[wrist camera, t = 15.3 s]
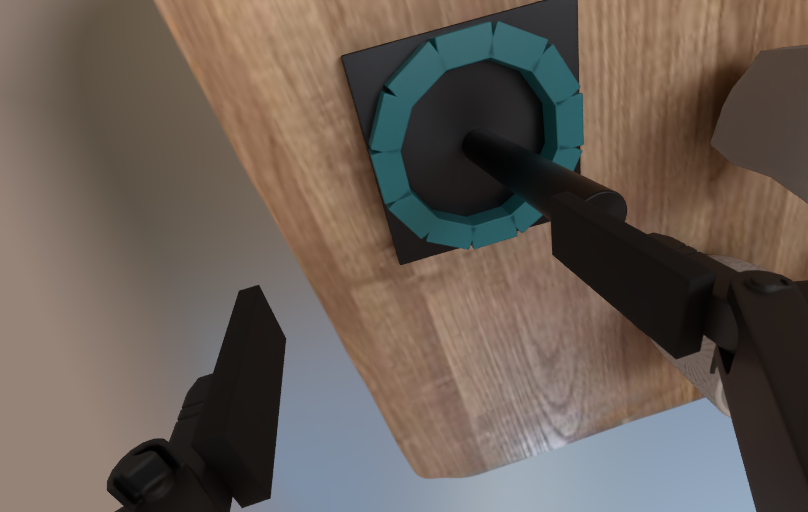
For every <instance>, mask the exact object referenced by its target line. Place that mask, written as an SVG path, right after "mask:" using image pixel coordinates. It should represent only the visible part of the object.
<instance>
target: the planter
mask: <svg viewBox="0 0 808 512" xmlns="http://www.w3.org/2000/svg"><path fill="white" fill-rule="evenodd" d="M707 256H709V257H711V258H713V259H715V260H717V261H719V262H721V263H723V264H725V265H726V266H728V267H730V268H732V269H734V270H736V271H738V272H742V271H747V270H761V271H769V270H767V269H764V268H762V267H760V266H757V265H754V264H752V263H749V262H746V261H743V260H740V259H737V258H733V257H729V256H723V255H707ZM769 272H772V271H769ZM773 273H774V272H773ZM793 282H794V281H793ZM649 338H650V337H649ZM650 339H651V338H650ZM651 341H652V342H653V344H654V345H655V346H656V347H657V348H658V350H659V351H660V352H661V353H662V354H663V355H664V356H665V357H666V358H667V359H668V360H669V361H670V363H671V364H672V365H673V366H674V367H675V368H676V369H677V370H678V371H679V372H680V373H682V374H683V375H684V376H685V377H686V378H687V379H688V380H689V381H690V382H691V383H692V384H693V385H694V386H695V387H696V388H697V389H698V390H699V391H700V392H701V393H702V394H703V395H704V396H705V397H706V398H707V399H708V400H709V401H710V402H711V403H713V404H714V405H715V406H716V407H717V408H718V409H719V410H720V411H721V412H722V413H723V414H725V415H726V416H728V417H730V418H731V415H730V412H729V408H728V404H727V400H726V397H725V393H724V389H723V385H722V382H721V378H720V374H719V371H718V367H717V368H716V370H715V374H710V366H711V362H712V358H713V353H714V349H715V345H716V344H715V343H714V342H713V341H711V340H710V339H708V338H707V337H706V336H703V341H702V345H701V350H700V352H697V353H694V354H691V355H688V356H686V357H683V358H680V359H677V360H676V359H675V358H673V357H672V356H671V355H670V354H669V353H667V352H666V351H665V350H664V349H663V348H662V347H660V346H659V345H658V344H657V343H656V342H655V341H653V340H652V339H651Z"/></svg>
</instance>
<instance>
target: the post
mask: <svg viewBox="0 0 808 512" xmlns="http://www.w3.org/2000/svg"><path fill="white" fill-rule="evenodd" d="M488 21H491V23H492V22H497V21H500V22H502V23H505V24H508V25H510V26H513V27H516V28H518V29H521V30H524V31H527V32H529V33H532V34H535V35H537V36H540V37H543V38H545V39H548V42H547V44H553V45H554V46H555V48H556V49H557V51H558V52H559V54H560V56H561V57H562V59H563V60H564V62H565V63H566V65H567V66H568V68H569V70H570V71H571V73H572V74H573V76H574V77H575V79H576V80H577V82H578V84H579V54H578V0H542V1H539V2H535V3H531V4H528V5H524V6H521V7H517V8H513V9H510V10H506V11H502V12H499V13H495V14H491V15H488V16H484V17H480V18H477V19H473V20H469V21H466V22H462V23H458V24H455V25H451V26H447V27H444V28H440V29H436V30H433V31H429V32H425V33H422V34H418V35H415V36H411V37H407V38H404V39H400V40H396V41H393V42H389V43H385V44H382V45H378V46H374V47H371V48H367V49H363V50H360V51H356V52H352V53H349V54H345V55H342V56H341V60H342V63H343V67H344V70H345V74H346V77H347V81H348V85H349V88H350V92H351V95H352V99H353V102H354V106H355V109H356V113H357V116H358V120H359V123H360V127H361V130H362V134H363V137H364V141H365V145H366V148H367V152H368V155H369V159H370V162H371V166H372V169H373V173H374V176H375V180H376V183H377V187H378V190H379V194H380V197H381V201H382V205H383V208H384V212H385V215H386V219H387V222H388V226H389V229H390V233H391V236H392V240H393V243H394V247H395V250H396V254H397V257H398V260H399V264H400V265H403V264H406V263H410V262H413V261H417V260H420V259H423V258H427V257H430V256H434V255H437V254H441V253H444V252H447V251H451V250H454V249H458V247H453V246H448V245H442V244H437V243H432V242H427V241H426V240H425V238H424V237H423V238H422V239H421V238H420V237H418V236H417V235H416V234H415V233H414V232H413V231H412V230H411V229H410V228H408V227H407V226H406V225H405V224H404V223H403V222H402V221H401V220H400V219H399V218H397V217H396V216H395V215H394V214H393V213H392V212H391V211H390V210H389V209H388V207H387V204H385V203H384V200H383V197H382V194H381V191H380V187H379V184H378V181H377V177H376V174H375V170H374V167H373V164H372V160H371V157H370V153H369V149H371V148H370V145H369V138H370V134H371V130H372V125H373V121H374V117H375V113H376V108H377V104H378V100H379V95H380V92H381V91H385V92H388V93H391V92H390V91H389V90H388V89H387V88H386V87H385V86H384V84H385V83H386V81H387V80H388V79H389V78H390V77H391V76H392V75H393V74H394V73H395V71H396V70H397V69H398V68H399V67H400V66H401V65H402V64H403V63H404V62H405V60H406V59H407V58H408V57H409V56H410V55H411V54H412V53H413V52H414V50H415V49H416V48H417V47H418V46H419V45H420V44H421V43H422V42H427V41H428V39H429V38H431V37H434V36H438V35H441V34H444V33H448V32H451V31H455V30H458V29H462V28H465V27H469V26H472V25H476V24H479V23H483V22H488ZM576 92H577V93H579V89H578V90H577V91H576ZM391 94H392V93H391ZM544 144H545V136H544V122H543V108H542V102H541V101H540V99H539V98H538V96H537V95H536V94H535V92H534V91H533V89H532V88H531V87H530V85H529V84H528V82H527V81H526V80H525V78H524V77H523V75H522V74H521V73H520V71H518V70H515V69H512V68H509V67H506V66H503V65H500V64H497V63H494V62H491V61H488V60H482V61H479V62H475V63H472V64H468V65H465V66H461V67H458V68H455V69H451V70H448V71H446V72H445V73H444V74H443V75H442V76H441V77H440V78H439V79H438V80H437V81H436V82H435V83H434V84H433V85H432V86H431V88H430V89H429V90H428V91H427V92H426V93H425V94H424V95H423V96H422V97H421V98H420V99H419V100H418V101H417V102H416V103H415V105H414V106H413V107H412V110H411V114H410V118H409V122H408V125H407V129H406V133H405V136H404V140H403V144H402V148H401V151H400V152H401V155H402V159H403V163H404V167H405V171H406V175H407V179H408V183H409V187H410V188H411V189H412V190H413V191H414V192H415V193H416V194H417V195H418V196H419V197H420V198H421V199H422V200H423V201H424V202H425V203H426V204H427V205H428V206H429V207H430V208H431V209H432V210H437V211H442V212H446V213H451V214H456V215H460V216H465V217H467V216H471V215H474V214H477V213H481V212H484V211H487V210H490V209H494V208H497V207H500V206H502V205H503V204H504V203H505V202H506V201H507V200H508V199H509V198H511V197H512V196H513V195H514V194H516V195H517V196H518V197H520V198H521V199H522V200H524V201H525V202H526V203H528V204H529V205H530V206H532V207H533V208H534V209H536V210H537V211H538V212H540V213H541V214H542V216H541V217H540V218H539V219H538V220H537V221H536V222H534V223H533V224H532V225H531V226H530V227H532V226H536V225H539V224H543V223H546V222H550V221H551V212H550V196H553V195H556V194H559V193H562V192H566V191H569V192H571V193H572V194H574V195H576V196H578V197H580V198H581V199H583V200H585V201H587V202H589V203H591V204H592V205H594V206H596V207H598V208H600V209H602V210H603V211H605V212H607V213H609V214H611V215H613V216H614V217H616V218H618V219H620V220H622V221H624V222H625V219H626V215H627V205H626V202H625V200H624V198H623V197H622V196H621V195H620V194H619V193H617V192H615V191H613V190H611V189H609V188H607V187H605V186H603V185H601V184H599V183H597V182H595V181H592V180H590V179H588V178H586V177H584V176H582V175H581V169H580V158H579V160H578V162H577V164H576V166H575V169H574V171H571V170H569V169H567V168H565V167H563V166H561V165H559V164H557V163H555V162H553V161H551V160H548V159H546V158H544V157H542V156H540V153H541V151H542V149H543V146H544ZM575 148H578V149H580V146H577V147H575ZM516 230H517V231H519V230H518V229H517V228H516Z"/></svg>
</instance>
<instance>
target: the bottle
mask: <svg viewBox="0 0 808 512" xmlns="http://www.w3.org/2000/svg"><path fill="white" fill-rule="evenodd" d="M710 145H711V146H712V147H714V148H715V149H716V150H717V151H718V152H719V153H720V154H721V155H722V156H724V157H725V158H726V159H727V160H728V161H729V162H731V163H732V164H734V165H737V166H740V167H743V168H746V169H749V170H752V171H755V172H758V173H760V174H763V175H766V176H769V177H771V178H773V179H774V180H775V181H777V182H778V183H780V184H781V185H782V186H784V187H785V188H787V189H788V190H789V191H791V192H792V193H794V194H795V195H796V196H798V197H799V198H801V199H802V200H803V201H805V202H806V203H808V45H800V46H791V47H782V48H776V49H770V50H765V51H760V53H759V54H758V56H757V57H756V58H755V60H754V61H753V62H752V64H751V65H750V67H749V68H748V69H747V71H746V72H745V73H744V74H743V76H742V77H741V78H740V79H739V81H738V82H737V83H736V84H735V85H734V87H733V88H732V90H731V92H730V94H729V95H728V97H727V99H726V101H725V103H724V105H723V107H722V110H721V114H720V117H719V119H718V120H717V123H716V127H715V130H714V134H713V137H712V140H711V144H710Z"/></svg>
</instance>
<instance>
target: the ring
mask: <svg viewBox="0 0 808 512" xmlns="http://www.w3.org/2000/svg"><path fill="white" fill-rule="evenodd" d="M547 42H548V39H545V38H543V37H540V36H537V35H535V34H532V33H529V32H527V31H524V30H521V29H518V28H516V27H513V26H510V25H508V24H505V23H502V22H500V21H497V22H492V23H491V21H488V22H483V23H479V24H476V25H472V26H469V27H465V28H462V29H458V30H455V31H451V32H448V33H444V34H441V35H438V36H434V37H431V38H429V39H428V41H427V42H422V43H421V44H420V45H419V46H418V47H417V48H416V49H415V50H414V52H413V53H412V54H411V55H410V56H409V57H408V58H407V59H406V60H405V62H404V63H403V64H402V65H401V66H400V67H399V68H398V69H397V70H396V71H395V73H394V74H393V75H392V76H391V77H390V78H389V79H388V80H387V81H386V83H385V84H384V86H385V87H386V88H387V89H388V90H389V91H390V92H391V93H392V94H391V93H388V92H385V91H381V92H380V95H379V100H378V104H377V108H376V113H375V117H374V121H373V125H372V130H371V134H370V138H369V145H370V148H371V149H369V153H370V157H371V160H372V164H373V167H374V170H375V174H376V177H377V181H378V184H379V187H380V191H381V194H382V197H383V200H384V203H385V204H387V207H388V209H389V210H390V211H391V212H392V213H393V214H394V215H395V216H396V217H397V218H399V219H400V220H401V221H402V222H403V223H404V224H405V225H406V226H407V227H408V228H410V229H411V230H412V231H413V232H414V233H415V234H416V235H417V236H418V237H420V238H421V239H422V238H423V237H424V238H425V240H426V241H427V242H432V243H437V244H442V245H448V246H453V247H458V248H463V249H469V248H470V245H471V246H472V247H473V248H474V249H477V248H480V247H483V246H487V245H490V244H493V243H496V242H500V241H503V240H506V239H510V238H513V237H516V236H517V230H516V228H517V229H518V230H519V231H520V232H521V233H523V232H524V231H525V230H527V229H528V228H529V227H530V226H531V225H532V224H533V223H534V222H536V221H537V220H538V219H539V218H540V217H541V216H542V214H541V213H540V212H538V211H537V210H536V209H534V208H533V207H532V206H530V205H529V204H528V203H526V202H525V201H524V200H522V199H521V198H520V197H518V196H517V195H516V194H514V195H513V196H512V197H511V198H509V199H508V200H507V201H506V202H505V203H504V204H503V205H502V206H500V207H497V208H494V209H490V210H487V211H484V212H481V213H477V214H474V215H471V216H467V217H465V216H460V215H456V214H451V213H446V212H442V211H437V210H432V209H431V208H430V207H429V206H428V205H427V204H426V203H425V202H424V201H423V200H422V199H421V198H420V197H419V196H418V195H417V194H416V193H415V192H414V191H413V190H412V189H411V188H410V187H409V183H408V179H407V175H406V171H405V167H404V163H403V159H402V155H401V152H400V151H401V148H402V144H403V140H404V136H405V133H406V129H407V125H408V122H409V118H410V114H411V110H412V107H413V106H414V105H415V103H416V102H417V101H418V100H419V99H420V98H421V97H422V96H423V95H424V94H425V93H426V92H427V91H428V90H429V89H430V88H431V86H432V85H433V84H434V83H435V82H436V81H437V80H438V79H439V78H440V77H441V76H442V75H443V74H444V73H445V72H446V71H448V70H451V69H455V68H458V67H461V66H465V65H468V64H472V63H475V62H479V61H482V60H488V61H491V62H494V63H497V64H500V65H503V66H506V67H509V68H512V69H515V70H518V71H520V73H521V74H522V75H523V77H524V78H525V80H526V81H527V82H528V84H529V85H530V87H531V88H532V89H533V91H534V92H535V94H536V95H537V96H538V98H539V99H540V101H541V102H542V108H543V122H544V136H545V144H544V146H543V149H542V151H541V153H540V156H542V157H544V158H546V159H548V160H551V161H553V162H555V163H557V164H559V165H561V166H563V167H565V168H567V169H569V170H571V171H574V169H575V166H576V164H577V162H578V160H579V158H580V155H581V153H582V150H580V149H578V148H575V147H577V146H581V145H583V144H584V135H583V94H582V93H577V92H576V91H577V90H578V89H579V88H580V85H579V84H578V82H577V80H576V79H575V77H574V76H573V74H572V73H571V71H570V70H569V68H568V66H567V65H566V63H565V62H564V60H563V59H562V57H561V56H560V54H559V52H558V51H557V49H556V48H555V46H554V45H553V44H547Z"/></svg>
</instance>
